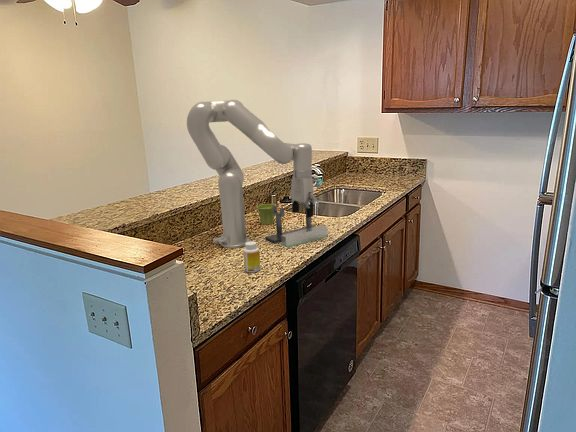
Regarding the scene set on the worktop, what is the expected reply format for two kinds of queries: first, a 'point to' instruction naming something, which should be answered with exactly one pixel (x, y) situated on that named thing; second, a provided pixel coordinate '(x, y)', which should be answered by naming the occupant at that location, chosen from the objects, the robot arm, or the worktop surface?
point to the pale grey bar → (304, 235)
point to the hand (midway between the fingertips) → (302, 214)
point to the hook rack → (277, 237)
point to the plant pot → (266, 213)
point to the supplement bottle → (251, 257)
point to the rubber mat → (304, 241)
